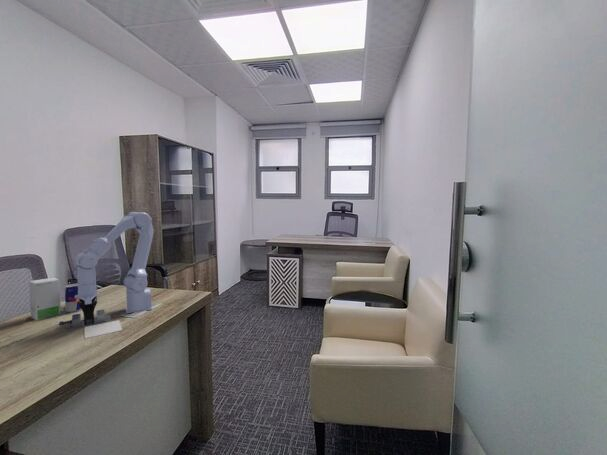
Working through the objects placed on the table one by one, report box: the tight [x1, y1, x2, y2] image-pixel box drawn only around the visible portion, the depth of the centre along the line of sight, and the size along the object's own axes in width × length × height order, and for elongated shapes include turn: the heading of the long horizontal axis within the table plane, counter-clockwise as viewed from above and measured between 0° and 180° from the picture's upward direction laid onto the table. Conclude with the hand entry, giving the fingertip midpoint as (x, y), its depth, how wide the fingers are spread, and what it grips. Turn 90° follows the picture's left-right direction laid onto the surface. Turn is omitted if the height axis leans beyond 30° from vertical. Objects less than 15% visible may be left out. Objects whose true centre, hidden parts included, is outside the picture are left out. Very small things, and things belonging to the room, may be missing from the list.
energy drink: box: [64, 283, 82, 314], centre depth 122 cm, size 5×5×12 cm
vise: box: [58, 308, 112, 331], centre depth 111 cm, size 16×7×4 cm, turn 128°
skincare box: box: [28, 277, 62, 321], centre depth 117 cm, size 8×7×16 cm
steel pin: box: [83, 313, 95, 324], centre depth 111 cm, size 3×3×7 cm
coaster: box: [84, 319, 123, 340], centre depth 105 cm, size 11×11×1 cm
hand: (88, 316), depth 111 cm, fingers open, 6 cm apart
